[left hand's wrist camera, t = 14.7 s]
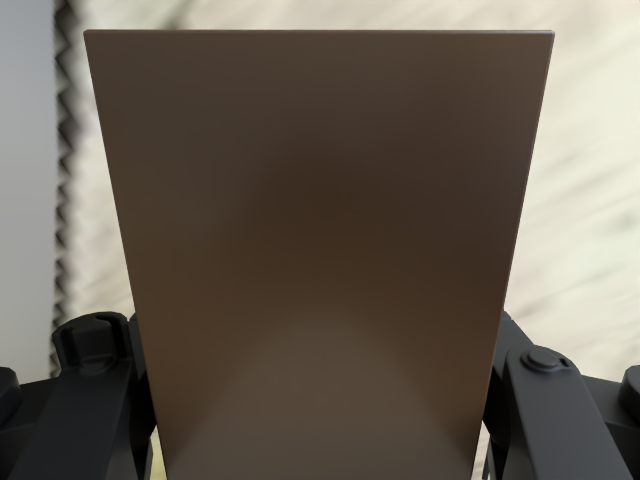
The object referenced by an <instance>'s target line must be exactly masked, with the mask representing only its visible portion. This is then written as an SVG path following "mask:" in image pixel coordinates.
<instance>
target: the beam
mask: <svg viewBox="0 0 640 480" xmlns="http://www.w3.org/2000/svg"><path fill="white" fill-rule="evenodd" d="M83 35H84V41H85V46H86V51H87V57H88V62H89V67H90V73H91V78H92V83H93V89H94V94H95V99H96V104H97V110H98V115H99V120H100V126H101V131H102V136H103V142H104V147H105V152H106V158H107V163H108V168H109V174H110V179H111V184H112V190H113V195H114V200H115V206H116V211H117V216H118V221H119V227H120V232H121V237H122V243H123V248H124V253H125V259H126V264H127V269H128V275H129V280H130V285H131V291H132V296H133V301H134V307H135V312H136V317H137V323H138V328H139V333H140V339H141V344H142V349H143V354H144V360H145V365H146V370H147V376H148V381H149V386H150V392H151V397H152V402H153V408H154V413H155V418H156V424H157V429H158V434H159V440H160V445H161V450H162V456H163V461H164V466H165V471H166V477H167V480H471V477H472V472H473V466H474V461H475V456H476V451H477V445H478V440H479V435H480V429H481V424H482V419H483V413H484V408H485V403H486V398H487V392H488V387H489V382H490V376H491V371H492V366H493V360H494V355H495V350H496V345H497V339H498V334H499V329H500V323H501V318H502V313H503V307H504V302H505V297H506V291H507V286H508V281H509V276H510V270H511V265H512V260H513V254H514V249H515V244H516V238H517V233H518V228H519V223H520V217H521V212H522V207H523V201H524V196H525V191H526V185H527V180H528V175H529V170H530V164H531V159H532V154H533V148H534V143H535V138H536V132H537V127H538V122H539V116H540V111H541V106H542V101H543V95H544V90H545V85H546V79H547V74H548V69H549V63H550V58H551V53H552V48H553V42H554V37H555V32H553V31H551V30H86V31H84V33H83Z"/></svg>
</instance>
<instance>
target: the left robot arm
mask: <svg viewBox="0 0 640 480" xmlns="http://www.w3.org/2000/svg"><path fill="white" fill-rule="evenodd" d="M52 337H53V341H54V344H55V348H56V351H57V355H58V359H59V362H60V366H61V369H62V370H61V372H60V374H59V376H58V377H55V378H51V379H46V380H41V381H36V382H31V383H26V384H21V385H19V382H18V379H17V376H16V373H15V372H14V371H13V370H11V369H10V368H7V367H0V480H150V474H151V466H152V459H153V449H152V443H151V438H150V437H151V434H152V432H153V430H154V428H155V426H156V418H155V413H154V408H153V402H152V397H151V392H150V386H149V381H148V376H147V370H146V365H145V360H144V354H143V349H142V344H141V339H140V333H139V328H138V323H137V317H136V313H134V314H133V316H132V317H131V318H130V319H129V321H127V318H126V317H125V316H124V315H122V314H121V313H116V312H111V311H109V312H96V313H91V314H86V315H83V316H80V317H77V318H75V319H72V320H70V321H68V322H66V323H65V324H63V325H61V326H60V327H58V328H57V329H56V330H55V332H54V333H53V334H52ZM482 420H483V422H484V424H485V426H486V428H487V430H488V432H489V434H490V438H489V443H488V448H487V453H486V458H485V463H484V468H483V474H482V480H487V479H488V475H489V473H490V480H640V365H636V366H631V367H630V368H628V369H627V370H626V371H625V374H624V377H623V380H622V383H618V382H613V381H608V380H603V379H598V378H593V377H588V376H584V375H581V374H580V372H579V370H578V368H577V367H576V366H575V365H574V363H573V362H572V361H571V360H569V359H568V358H566V357H565V356H563V355H562V354H560V353H558V352H556V351H554V350H551V349H549V348H546V347H542V346H538V345H534V344H533V343H532V342H531V340H530V339H529V338H528V337H527V336H526V335H525V333H524V332H523V331H522V330H521V329H520V328H519V326H518V325H517V324H516V323H515V322H514V321H513V320H511V317H510V316H509V315H508V314H507V312H506V311H504V309H503V313H502V318H501V323H500V329H499V334H498V339H497V345H496V350H495V355H494V360H493V366H492V371H491V376H490V382H489V387H488V392H487V398H486V403H485V408H484V413H483V419H482Z"/></svg>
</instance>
